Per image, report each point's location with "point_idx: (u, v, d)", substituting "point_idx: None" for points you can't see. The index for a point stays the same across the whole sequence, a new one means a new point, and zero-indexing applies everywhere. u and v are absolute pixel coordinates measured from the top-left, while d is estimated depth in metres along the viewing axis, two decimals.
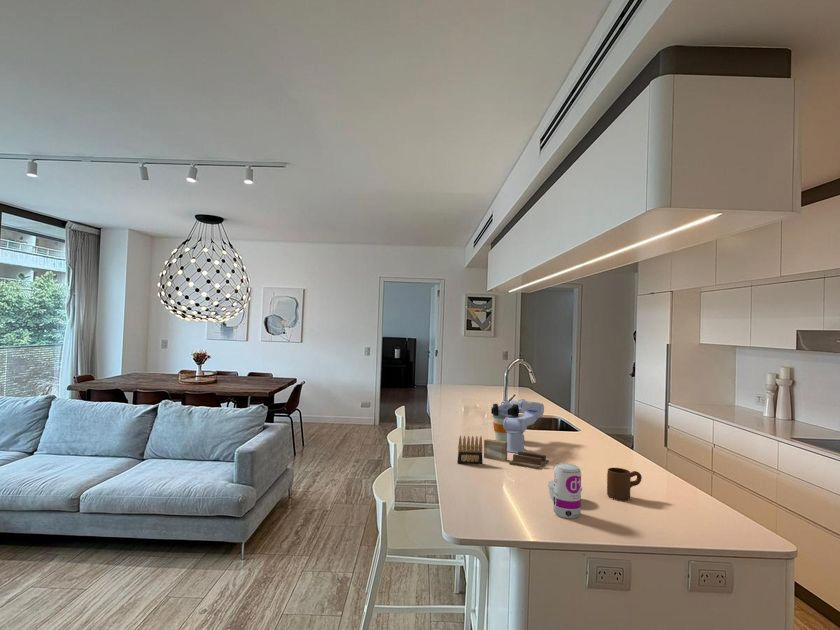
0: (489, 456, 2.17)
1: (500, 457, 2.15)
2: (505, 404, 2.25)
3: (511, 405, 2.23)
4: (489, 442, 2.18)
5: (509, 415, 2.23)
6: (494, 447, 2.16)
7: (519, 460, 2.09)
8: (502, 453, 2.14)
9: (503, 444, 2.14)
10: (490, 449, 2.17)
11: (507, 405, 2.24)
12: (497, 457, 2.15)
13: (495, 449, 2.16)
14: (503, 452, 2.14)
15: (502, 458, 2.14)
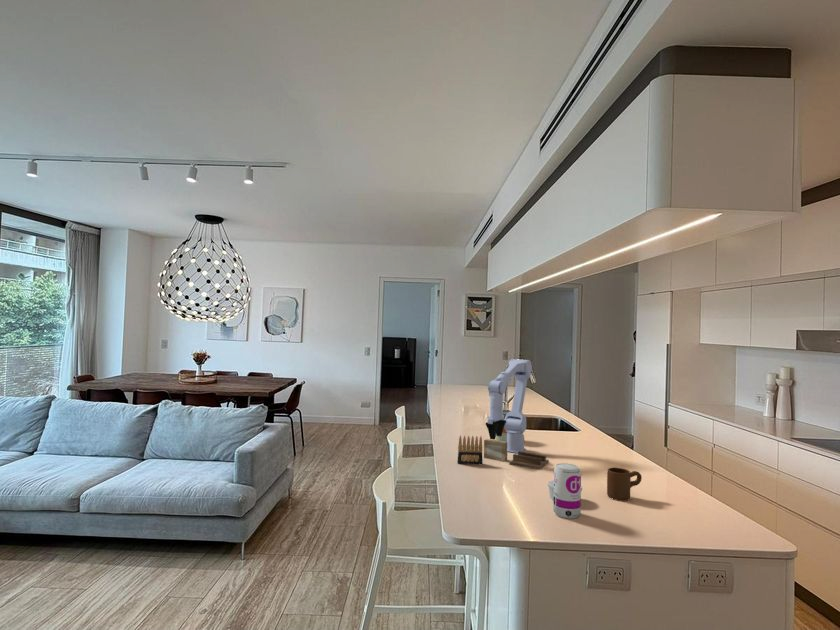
0: (489, 456, 2.17)
1: (500, 457, 2.15)
2: None
3: None
4: (489, 442, 2.18)
5: (500, 419, 2.16)
6: (494, 447, 2.16)
7: (519, 460, 2.09)
8: (502, 453, 2.14)
9: (503, 444, 2.14)
10: (490, 449, 2.17)
11: None
12: (497, 457, 2.15)
13: (495, 449, 2.16)
14: (503, 452, 2.14)
15: (502, 458, 2.14)
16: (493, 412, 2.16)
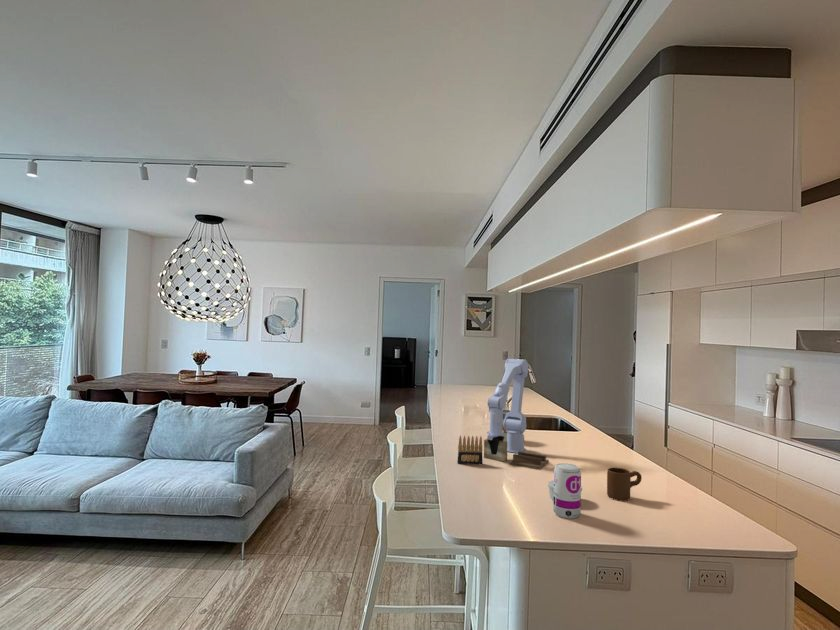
0: (489, 456, 2.17)
1: (500, 457, 2.15)
2: None
3: (489, 434, 2.17)
4: None
5: (500, 435, 2.15)
6: None
7: (519, 460, 2.09)
8: (502, 453, 2.14)
9: (503, 444, 2.14)
10: (490, 449, 2.17)
11: None
12: (497, 457, 2.15)
13: None
14: (503, 452, 2.14)
15: (502, 458, 2.14)
16: (493, 428, 2.16)
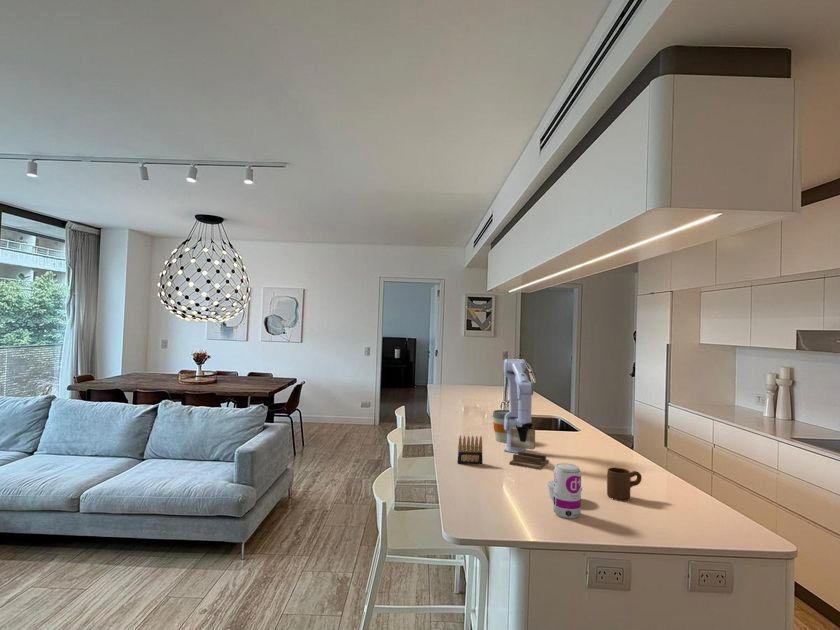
0: (516, 445, 2.13)
1: (528, 445, 2.10)
2: None
3: (518, 421, 2.12)
4: (516, 430, 2.13)
5: (529, 422, 2.11)
6: None
7: (519, 460, 2.09)
8: (530, 441, 2.10)
9: (531, 432, 2.10)
10: (517, 438, 2.13)
11: None
12: (525, 445, 2.11)
13: None
14: (531, 440, 2.09)
15: (530, 446, 2.10)
16: (522, 415, 2.11)
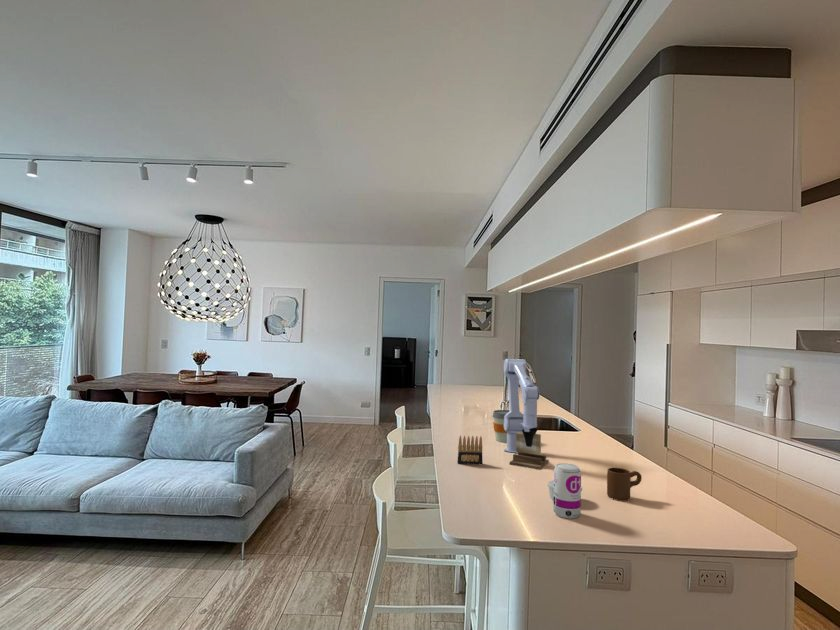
0: (522, 450, 2.11)
1: (534, 450, 2.09)
2: None
3: (524, 426, 2.11)
4: (522, 435, 2.12)
5: None
6: None
7: (519, 460, 2.09)
8: (536, 446, 2.09)
9: (537, 437, 2.09)
10: (523, 443, 2.11)
11: None
12: (531, 450, 2.10)
13: None
14: (537, 445, 2.09)
15: (537, 451, 2.09)
16: (528, 419, 2.10)
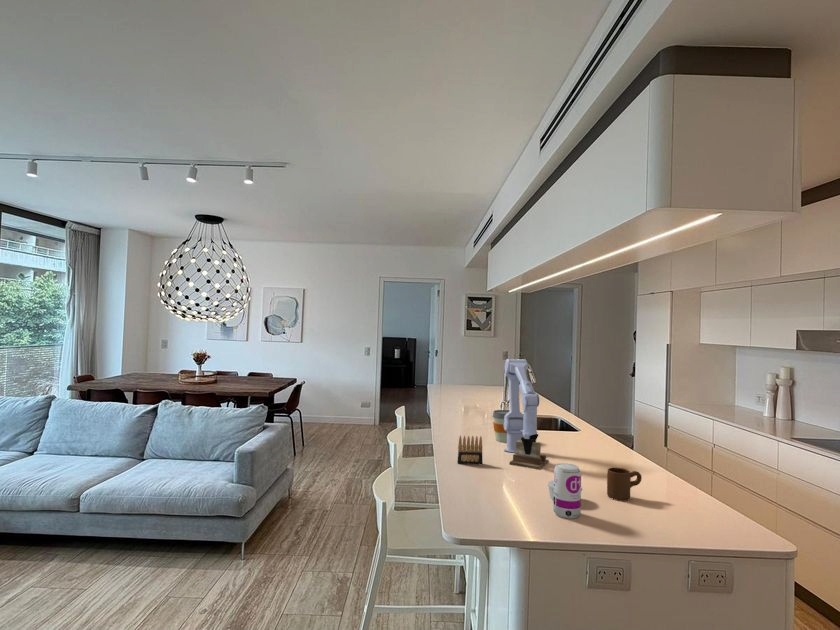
0: None
1: None
2: None
3: (524, 433, 2.11)
4: (522, 443, 2.12)
5: (535, 434, 2.10)
6: None
7: (519, 460, 2.09)
8: (536, 454, 2.09)
9: (537, 445, 2.09)
10: (523, 451, 2.11)
11: None
12: None
13: None
14: (537, 453, 2.09)
15: None
16: (528, 426, 2.09)
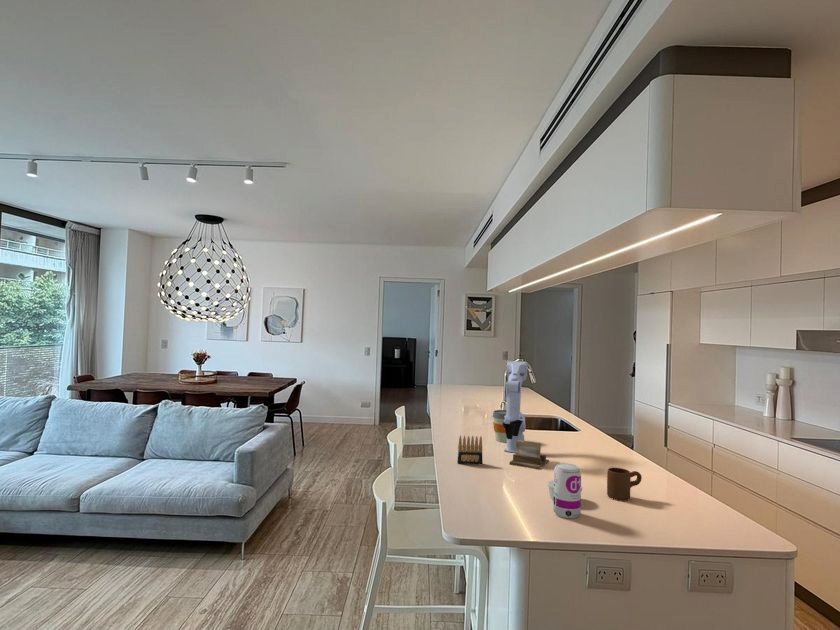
0: None
1: None
2: None
3: None
4: (522, 443, 2.12)
5: (517, 419, 2.17)
6: (527, 448, 2.10)
7: (519, 460, 2.09)
8: (536, 454, 2.09)
9: (537, 445, 2.09)
10: (523, 451, 2.11)
11: None
12: None
13: (529, 451, 2.10)
14: (537, 453, 2.09)
15: None
16: (510, 412, 2.17)
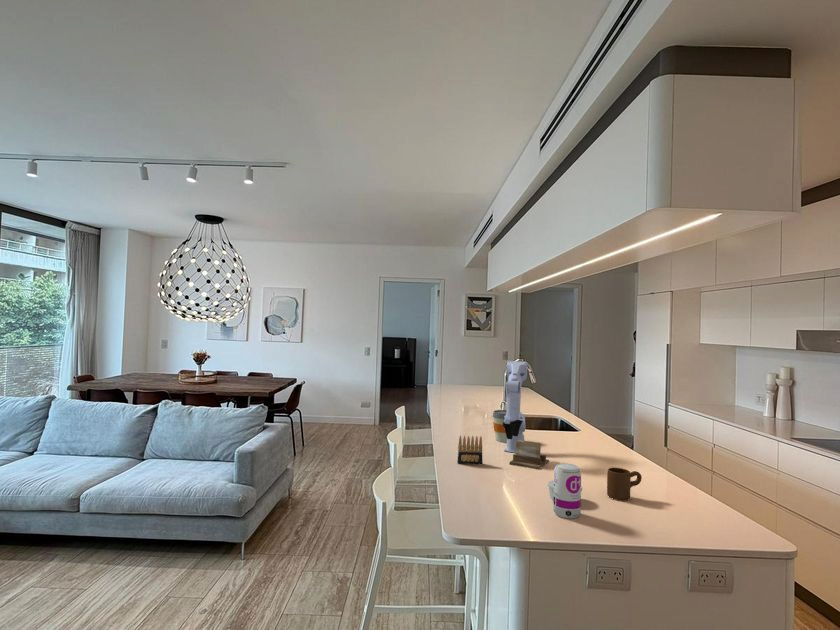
0: None
1: None
2: None
3: None
4: (522, 443, 2.12)
5: (517, 419, 2.17)
6: (527, 448, 2.10)
7: (519, 460, 2.09)
8: (536, 454, 2.09)
9: (537, 445, 2.09)
10: (523, 451, 2.11)
11: None
12: None
13: (529, 451, 2.10)
14: (537, 453, 2.09)
15: None
16: (510, 412, 2.17)
